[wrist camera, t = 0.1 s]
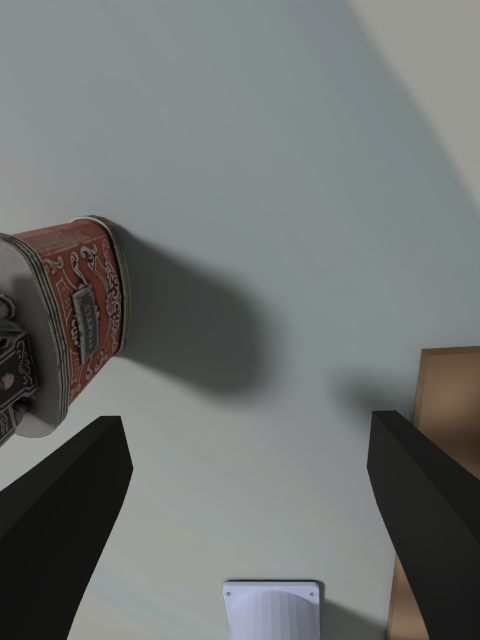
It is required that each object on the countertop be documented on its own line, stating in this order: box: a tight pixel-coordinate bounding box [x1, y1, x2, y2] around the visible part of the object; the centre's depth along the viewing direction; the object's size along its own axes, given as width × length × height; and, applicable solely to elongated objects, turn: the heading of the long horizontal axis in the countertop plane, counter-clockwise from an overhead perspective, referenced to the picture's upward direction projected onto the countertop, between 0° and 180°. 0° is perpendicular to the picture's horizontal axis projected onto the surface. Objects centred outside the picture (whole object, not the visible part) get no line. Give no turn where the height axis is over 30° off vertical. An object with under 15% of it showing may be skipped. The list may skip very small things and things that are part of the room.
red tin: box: [0, 215, 131, 447], centre depth 14 cm, size 8×3×10 cm, turn 176°
